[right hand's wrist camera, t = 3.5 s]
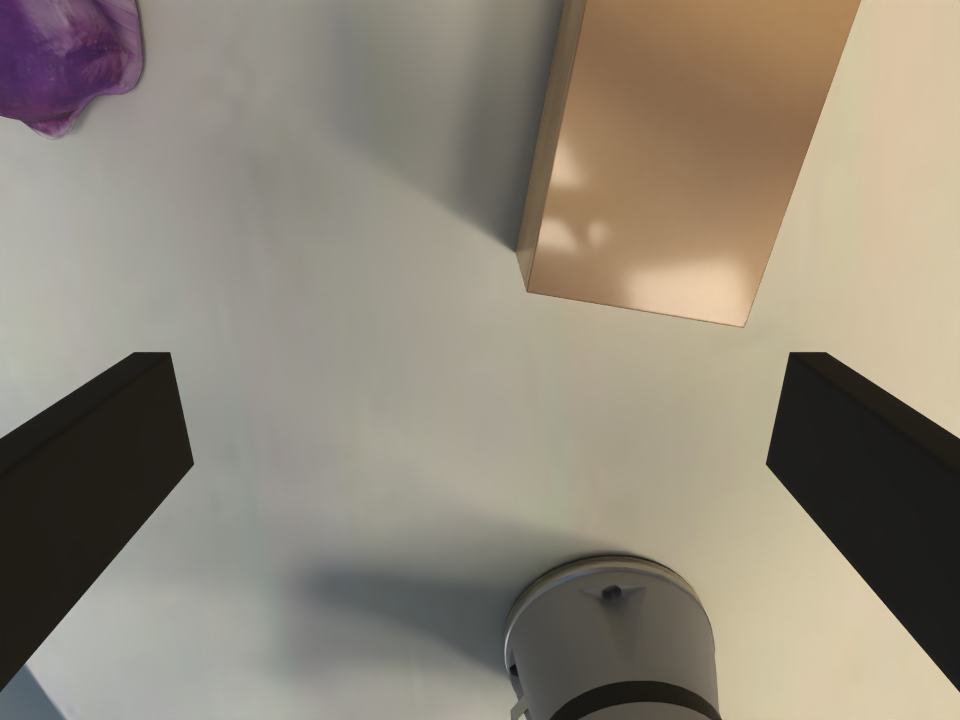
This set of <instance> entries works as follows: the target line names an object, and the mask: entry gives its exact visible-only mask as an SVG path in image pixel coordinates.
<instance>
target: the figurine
mask: <svg viewBox="0 0 960 720" xmlns="http://www.w3.org/2000/svg"><path fill="white" fill-rule="evenodd" d="M142 66H143V54H142V44H141V35H140V27H139V19H138V11H137V7H136V3H135V0H0V116H3V117H7V118H11V119H17V120H20V121H22V122H23V123H25V124H26V125H27V126H29V127H30V128H31V129H32V130H34V131H35V132H36V133H37V134H39V135H40V136H43V137H45V138H48V139H52V140H56V139H60V138H63V137H65V136H66V135H68V134H69V133H70V132H71V130H72V128H73V126H74V124H75V122H76V120H77V118H78V117H79V115H80V114H81V112H82V111H83V109H84V108H85V106H86V105H87V104H88V103H89V102H90V101H91V100H92V99H93V98H95V97H96V96H98V95H104V94H106V95H117V94H125V93H127V92H129V91H130V90H132V89H133V88H134V86H135V85H136V83H137V81H138V79H139V77H140V74H141V71H142Z"/></svg>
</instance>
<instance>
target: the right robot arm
mask: <svg viewBox="0 0 960 720" xmlns="http://www.w3.org/2000/svg"><path fill="white" fill-rule="evenodd" d="M193 465H194V461H193V456H192V452H191V447H190V442H189V438H188V433H187V428H186V424H185V419H184V414H183V410H182V405H181V400H180V396H179V391H178V386H177V382H176V377H175V372H174V368H173V363H172V358H171V354H170V352H134V353H132V354H131V355H129V356H128V357H126V358H124V359H123V360H121V361H120V362H118V363H117V364H115V365H114V366H112V367H111V368H109V369H107V370H106V371H104V372H103V373H101V374H100V375H98V376H97V377H95V378H94V379H92V380H90V381H89V382H87V383H86V384H84V385H83V386H81V387H80V388H78V389H77V390H75V391H73V392H72V393H70V394H69V395H67V396H66V397H64V398H63V399H61V400H60V401H58V402H56V403H55V404H53V405H52V406H50V407H49V408H47V409H46V410H44V411H43V412H41V413H39V414H38V415H36V416H35V417H33V418H32V419H30V420H29V421H27V422H26V423H24V424H22V425H21V426H19V427H18V428H16V429H15V430H13V431H12V432H10V433H9V434H7V435H5V436H4V437H2V438H1V439H0V692H1V691H2V690H3V688H4V687H5V686H6V685H7V684H8V682H9V681H10V680H11V679H12V678H13V677H14V675H15V674H16V673H17V672H18V671H19V670H20V668H21V667H22V666H23V665H24V664H25V663H26V661H27V660H28V659H29V658H30V657H31V656H32V654H33V653H34V652H35V651H36V650H37V648H38V647H39V646H40V645H41V644H42V643H43V641H44V640H45V639H46V638H47V637H48V636H49V634H50V633H51V632H52V631H53V630H54V628H55V627H56V626H57V625H58V624H59V623H60V621H61V620H62V619H63V618H64V617H65V616H66V614H67V613H68V612H69V611H70V610H71V608H72V607H73V606H74V605H75V604H76V603H77V601H78V600H79V599H80V598H81V597H82V596H83V594H84V593H85V592H86V591H87V590H88V589H89V587H90V586H91V585H92V584H93V583H94V581H95V580H96V579H97V578H98V577H99V576H100V574H101V573H102V572H103V571H104V570H105V569H106V567H107V566H108V565H109V564H110V563H111V561H112V560H113V559H114V558H115V557H116V556H117V554H118V553H119V552H120V551H121V550H122V549H123V547H124V546H125V545H126V544H127V543H128V542H129V540H130V539H131V538H132V537H133V536H134V534H135V533H136V532H137V531H138V530H139V529H140V527H141V526H142V525H143V524H144V523H145V522H146V520H147V519H148V518H149V517H150V516H151V514H152V513H153V512H154V511H155V510H156V509H157V507H158V506H159V505H160V504H161V503H162V502H163V500H164V499H165V498H166V497H167V496H168V494H169V493H170V492H171V491H172V490H173V489H174V487H175V486H176V485H177V484H178V483H179V482H180V480H181V479H182V478H183V477H184V476H185V475H186V473H187V472H188V471H189V470H190V469H191V467H192V466H193ZM766 465H767V466H768V467H769V469H770V470H771V471H772V472H773V473H774V475H775V476H776V477H777V478H778V479H779V480H780V482H781V483H782V484H783V485H784V486H785V487H786V489H787V490H788V491H789V492H790V493H791V494H792V496H793V497H794V498H795V499H796V500H797V502H798V503H799V504H800V505H801V506H802V507H803V509H804V510H805V511H806V512H807V513H808V514H809V516H810V517H811V518H812V519H813V520H814V522H815V523H816V524H817V525H818V526H819V527H820V529H821V530H822V531H823V532H824V533H825V534H826V536H827V537H828V538H829V539H830V540H831V542H832V543H833V544H834V545H835V546H836V547H837V549H838V550H839V551H840V552H841V553H842V554H843V556H844V557H845V558H846V559H847V560H848V561H849V563H850V564H851V565H852V566H853V567H854V569H855V570H856V571H857V572H858V573H859V574H860V576H861V577H862V578H863V579H864V580H865V581H866V583H867V584H868V585H869V586H870V587H871V589H872V590H873V591H874V592H875V593H876V594H877V596H878V597H879V598H880V599H881V600H882V601H883V603H884V604H885V605H886V606H887V607H888V608H889V610H890V611H891V612H892V613H893V614H894V616H895V617H896V618H897V619H898V620H899V621H900V623H901V624H902V625H903V626H904V627H905V628H906V630H907V631H908V632H909V633H910V634H911V636H912V637H913V638H914V639H915V640H916V641H917V643H918V644H919V645H920V646H921V647H922V648H923V650H924V651H925V652H926V653H927V654H928V656H929V657H930V658H931V659H932V660H933V661H934V663H935V664H936V665H937V666H938V667H939V668H940V670H941V671H942V672H943V673H944V674H945V675H946V677H947V678H948V679H949V680H950V681H951V683H952V684H953V685H954V686H955V687H956V688H957V690H958V691H959V692H960V439H959V438H958V437H956V436H955V435H953V434H951V433H950V432H948V431H947V430H945V429H944V428H942V427H941V426H939V425H938V424H936V423H934V422H933V421H931V420H930V419H928V418H927V417H925V416H924V415H922V414H921V413H919V412H917V411H916V410H914V409H913V408H911V407H910V406H908V405H907V404H905V403H904V402H902V401H900V400H899V399H897V398H896V397H894V396H893V395H891V394H890V393H888V392H887V391H885V390H883V389H882V388H880V387H879V386H877V385H876V384H874V383H873V382H871V381H870V380H868V379H866V378H865V377H863V376H862V375H860V374H859V373H857V372H856V371H854V370H853V369H851V368H849V367H848V366H846V365H845V364H843V363H842V362H840V361H839V360H837V359H836V358H834V357H832V356H831V355H829V354H828V353H826V352H790V354H789V358H788V363H787V368H786V372H785V377H784V382H783V386H782V391H781V396H780V400H779V405H778V410H777V414H776V419H775V424H774V428H773V433H772V438H771V442H770V447H769V452H768V456H767V461H766ZM504 652H505V663H506V668H507V672H508V675H509V679H510V681H511V684H512V686H513V689H514V691H515V692H516V695H517V698H518V700H519V701H518V702H517V704H516V705H515V706H514V707H513V708H512V709H511V720H518V718H519V717H520V716H521V715H522V714H523V713H524V714H525V717H526V719H527V720H722V719H721V716H720V714H719V706H718V690H717V676H716V665H715V656H714V655H715V644H714V638H713V633H712V628H711V624H710V622H709V619H708V617H707V615H706V612H705V610H704V608H703V606H702V604H701V602H700V600H699V598H698V596H697V594H696V593H695V592H694V590H693V589H692V588H691V587H690V586H689V585H688V583H687V582H686V581H684V580H683V579H682V578H681V577H680V576H678V575H677V574H675V573H674V572H672V571H670V570H669V569H667V568H665V567H663V566H660V565H658V564H656V563H653V562H649V561H646V560H642V559H638V558H632V557H622V556H603V557H594V558H588V559H583V560H579V561H575V562H572V563H569V564H566V565H563V566H561V567H559V568H557V569H554V570H552V571H551V572H549V573H547V574H545V575H544V576H542V577H541V578H539V579H538V580H536V581H535V582H534V583H533V584H531V585H530V586H529V587H528V588H527V589H526V590H525V591H524V592H523V593H522V594H521V596H520V597H519V598H518V599H517V601H516V602H515V604H514V605H513V607H512V609H511V611H510V613H509V615H508V618H507V621H506V625H505V630H504Z"/></svg>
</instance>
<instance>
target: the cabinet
mask: <svg viewBox="0 0 960 720" xmlns="http://www.w3.org/2000/svg"><path fill="white" fill-rule="evenodd" d="M860 2H861V0H564V3H563V8H562V13H561V19H560V24H559V29H558V34H557V39H556V45H555V50H554V55H553V60H552V65H551V71H550V76H549V81H548V86H547V91H546V97H545V102H544V107H543V112H542V117H541V123H540V128H539V133H538V138H537V143H536V149H535V154H534V159H533V164H532V169H531V175H530V180H529V185H528V190H527V196H526V201H525V206H524V211H523V216H522V222H521V227H520V232H519V237H518V242H517V248H516V257H517V260H518V263H519V267H520V270H521V274H522V277H523V281H524V284H525V288H526V292H529V293H535V294H541V295H547V296H553V297H559V298H565V299H571V300H577V301H583V302H589V303H595V304H601V305H607V306H614V307H620V308H626V309H632V310H638V311H644V312H650V313H656V314H662V315H668V316H674V317H680V318H686V319H692V320H699V321H705V322H711V323H717V324H723V325H729V326H735V327H741V328H744V327H745V324H746V321H747V318H748V316H749V313H750V310H751V307H752V304H753V302H754V299H755V296H756V293H757V290H758V288H759V285H760V282H761V279H762V276H763V274H764V271H765V268H766V265H767V262H768V260H769V257H770V254H771V251H772V248H773V246H774V243H775V240H776V237H777V234H778V232H779V229H780V226H781V223H782V220H783V218H784V215H785V212H786V209H787V206H788V204H789V201H790V198H791V195H792V192H793V190H794V187H795V184H796V181H797V178H798V176H799V173H800V170H801V167H802V164H803V162H804V159H805V156H806V153H807V150H808V148H809V145H810V142H811V139H812V136H813V134H814V131H815V128H816V125H817V122H818V120H819V117H820V114H821V111H822V108H823V106H824V103H825V100H826V97H827V94H828V92H829V89H830V86H831V83H832V80H833V78H834V75H835V72H836V69H837V66H838V64H839V61H840V58H841V55H842V52H843V50H844V47H845V44H846V41H847V38H848V35H849V33H850V30H851V27H852V24H853V21H854V19H855V16H856V13H857V10H858V7H859V5H860Z"/></svg>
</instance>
